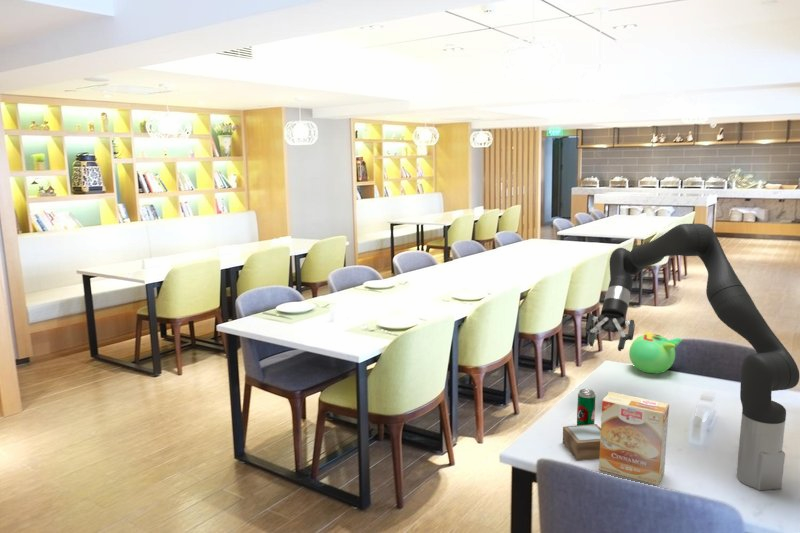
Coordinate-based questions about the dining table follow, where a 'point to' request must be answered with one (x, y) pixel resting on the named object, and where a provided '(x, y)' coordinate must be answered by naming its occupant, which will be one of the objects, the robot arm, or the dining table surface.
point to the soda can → (586, 407)
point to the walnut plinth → (583, 441)
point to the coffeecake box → (633, 437)
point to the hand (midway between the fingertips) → (605, 347)
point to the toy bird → (653, 353)
